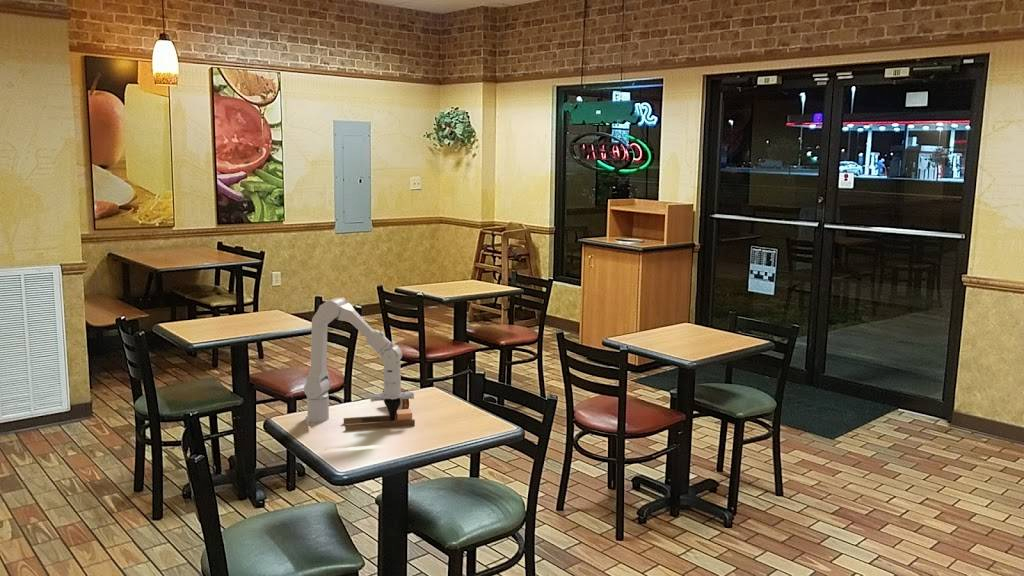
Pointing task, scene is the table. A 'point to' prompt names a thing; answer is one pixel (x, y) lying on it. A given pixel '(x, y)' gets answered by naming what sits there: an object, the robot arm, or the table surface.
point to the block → (403, 414)
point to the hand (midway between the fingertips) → (392, 420)
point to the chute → (374, 422)
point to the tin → (402, 402)
